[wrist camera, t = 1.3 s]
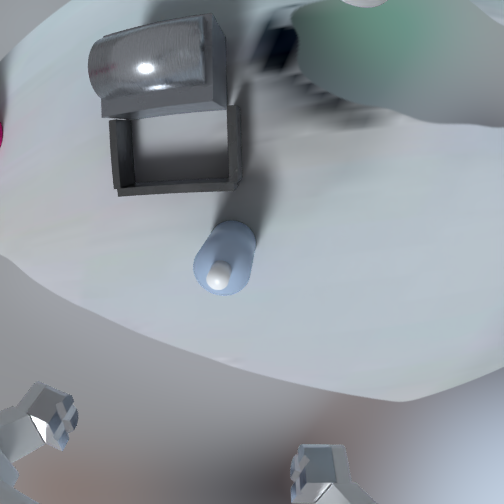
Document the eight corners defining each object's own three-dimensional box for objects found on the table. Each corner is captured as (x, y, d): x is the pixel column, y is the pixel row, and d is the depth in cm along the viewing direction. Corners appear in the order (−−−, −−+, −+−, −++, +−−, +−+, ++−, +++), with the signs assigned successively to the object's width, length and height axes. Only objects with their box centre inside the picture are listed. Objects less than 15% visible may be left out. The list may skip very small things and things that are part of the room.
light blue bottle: (255, 220, 32) (247, 251, 24) (256, 264, 34) (249, 307, 25) (208, 220, 32) (184, 250, 24) (211, 264, 34) (190, 305, 26)
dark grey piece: (238, 36, 25) (221, -4, 16) (242, 185, 31) (227, 206, 21) (124, 54, 26) (73, 33, 17) (129, 190, 32) (79, 212, 22)
